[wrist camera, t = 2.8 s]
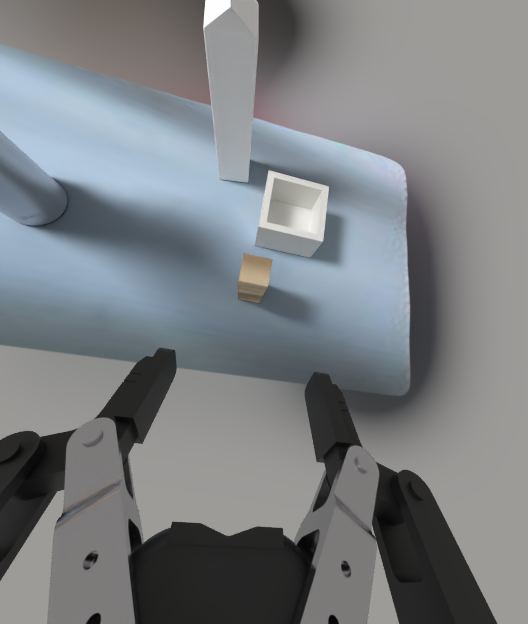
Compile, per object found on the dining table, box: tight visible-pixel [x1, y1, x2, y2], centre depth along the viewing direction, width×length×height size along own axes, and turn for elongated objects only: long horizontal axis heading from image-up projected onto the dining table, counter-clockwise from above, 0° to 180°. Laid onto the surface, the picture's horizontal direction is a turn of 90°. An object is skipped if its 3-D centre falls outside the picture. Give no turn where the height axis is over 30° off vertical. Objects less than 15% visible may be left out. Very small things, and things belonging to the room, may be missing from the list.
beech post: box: [238, 254, 272, 303], centre depth 30 cm, size 4×4×10 cm
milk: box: [204, 0, 258, 183], centre depth 29 cm, size 6×6×22 cm
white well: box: [255, 170, 329, 258], centre depth 36 cm, size 11×11×6 cm
